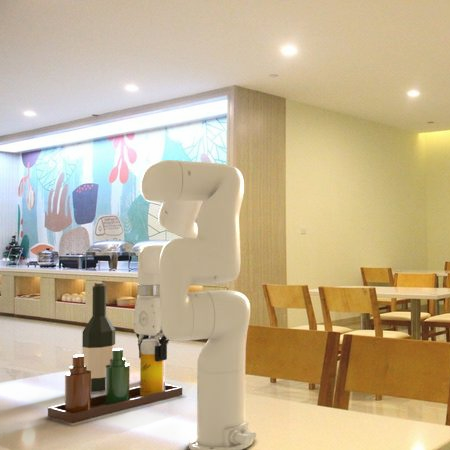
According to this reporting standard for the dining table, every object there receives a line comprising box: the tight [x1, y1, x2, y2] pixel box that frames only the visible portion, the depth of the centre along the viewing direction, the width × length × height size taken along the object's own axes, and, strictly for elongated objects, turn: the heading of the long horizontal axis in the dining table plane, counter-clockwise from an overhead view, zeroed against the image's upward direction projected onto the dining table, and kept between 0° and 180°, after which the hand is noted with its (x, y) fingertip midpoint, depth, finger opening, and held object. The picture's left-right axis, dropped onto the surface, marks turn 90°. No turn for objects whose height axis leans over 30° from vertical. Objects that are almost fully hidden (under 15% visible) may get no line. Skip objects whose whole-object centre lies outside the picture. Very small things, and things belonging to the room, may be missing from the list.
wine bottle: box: [81, 282, 116, 393], centre depth 171 cm, size 8×8×30 cm
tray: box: [47, 383, 183, 424], centre depth 153 cm, size 11×30×3 cm, turn 147°
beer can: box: [139, 338, 166, 396], centre depth 161 cm, size 6×6×15 cm
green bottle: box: [104, 347, 131, 405], centre depth 153 cm, size 6×6×14 cm
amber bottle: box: [64, 354, 92, 413], centre depth 144 cm, size 6×6×14 cm
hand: (152, 358), depth 161 cm, fingers closed on beer can, 6 cm apart
